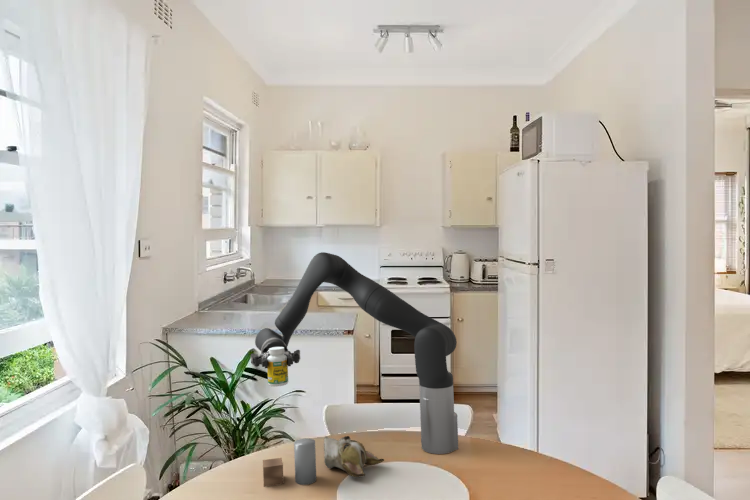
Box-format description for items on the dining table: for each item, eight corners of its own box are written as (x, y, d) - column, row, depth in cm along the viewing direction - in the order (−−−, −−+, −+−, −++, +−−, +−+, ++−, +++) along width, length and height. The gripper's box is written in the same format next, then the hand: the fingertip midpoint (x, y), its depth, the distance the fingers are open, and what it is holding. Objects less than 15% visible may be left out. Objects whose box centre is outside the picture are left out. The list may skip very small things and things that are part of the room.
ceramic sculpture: (336, 423, 131) (386, 435, 124) (336, 456, 132) (385, 470, 124) (311, 437, 122) (363, 451, 115) (311, 472, 122) (363, 488, 115)
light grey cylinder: (314, 474, 121) (313, 437, 121) (317, 483, 116) (316, 444, 117) (294, 477, 120) (293, 439, 120) (296, 486, 115) (295, 447, 115)
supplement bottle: (283, 380, 136) (282, 345, 136) (291, 384, 131) (290, 348, 131) (264, 383, 133) (263, 348, 133) (272, 388, 128) (271, 350, 128)
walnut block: (282, 476, 121) (281, 457, 121) (283, 484, 117) (282, 464, 117) (263, 478, 120) (262, 460, 120) (263, 487, 115) (263, 467, 116)
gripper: (248, 340, 144) (249, 351, 128) (298, 337, 148) (305, 346, 131) (249, 366, 144) (250, 380, 128) (299, 362, 148) (306, 375, 131)
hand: (277, 363), depth 129 cm, fingers closed on supplement bottle, 5 cm apart
